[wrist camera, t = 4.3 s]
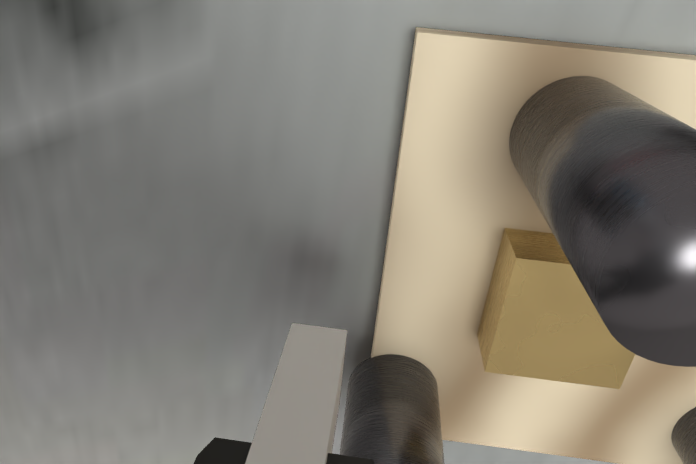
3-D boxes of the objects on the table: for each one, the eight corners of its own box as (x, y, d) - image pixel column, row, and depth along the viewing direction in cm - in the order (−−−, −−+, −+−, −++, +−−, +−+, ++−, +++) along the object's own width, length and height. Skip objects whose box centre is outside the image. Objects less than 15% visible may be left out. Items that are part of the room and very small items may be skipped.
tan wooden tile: (476, 334, 19) (484, 371, 17) (504, 227, 17) (516, 258, 15) (599, 349, 19) (619, 389, 17) (642, 243, 17) (670, 276, 15)
